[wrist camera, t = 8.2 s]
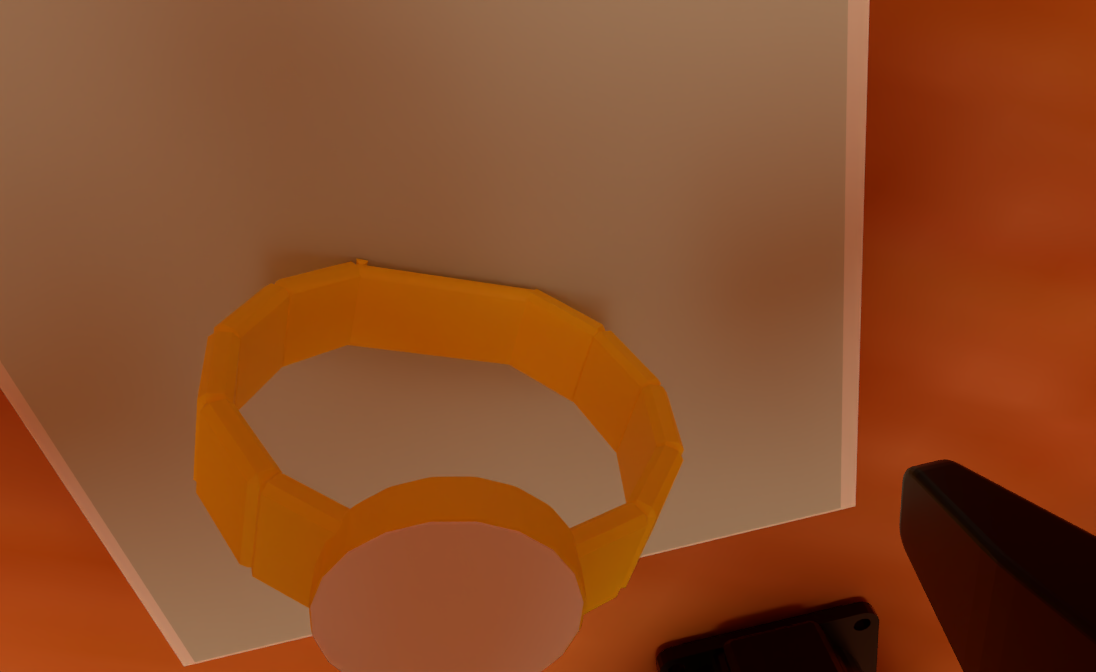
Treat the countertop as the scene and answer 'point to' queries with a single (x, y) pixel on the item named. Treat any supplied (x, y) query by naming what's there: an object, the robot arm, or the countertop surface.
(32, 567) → the countertop surface
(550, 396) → the stand
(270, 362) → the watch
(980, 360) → the countertop surface
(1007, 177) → the countertop surface
